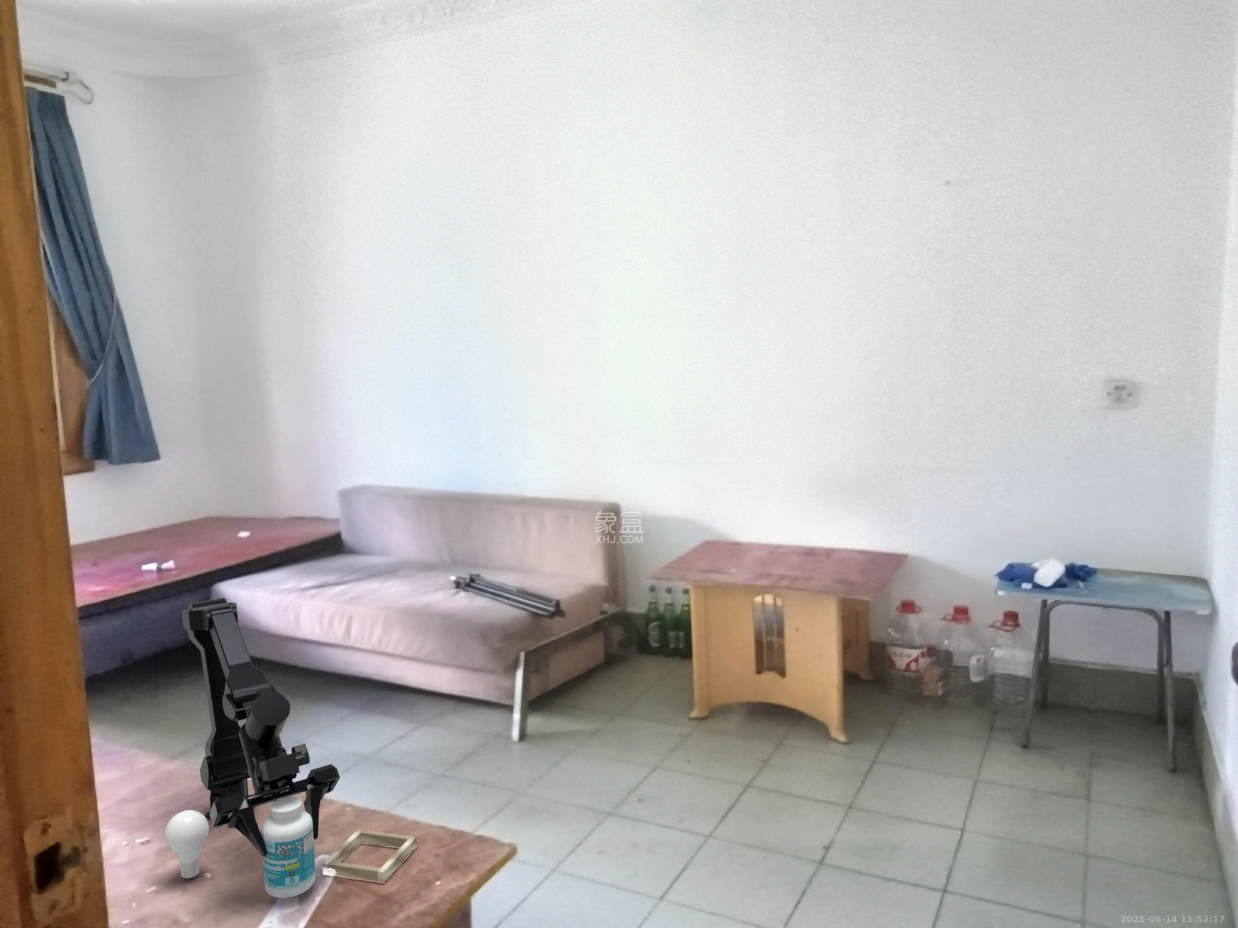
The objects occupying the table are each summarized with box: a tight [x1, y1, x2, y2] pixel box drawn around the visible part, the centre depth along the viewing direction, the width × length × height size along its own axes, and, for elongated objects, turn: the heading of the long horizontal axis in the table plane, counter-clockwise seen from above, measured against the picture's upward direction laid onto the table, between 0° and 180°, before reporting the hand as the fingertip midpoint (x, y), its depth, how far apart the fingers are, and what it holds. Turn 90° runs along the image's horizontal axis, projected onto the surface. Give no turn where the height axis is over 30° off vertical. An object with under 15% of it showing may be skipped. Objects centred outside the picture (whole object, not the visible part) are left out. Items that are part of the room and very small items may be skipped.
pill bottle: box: [261, 796, 316, 899], centre depth 142 cm, size 8×7×14 cm
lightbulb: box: [164, 809, 210, 879], centre depth 147 cm, size 6×6×11 cm
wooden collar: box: [321, 828, 418, 882], centre depth 152 cm, size 11×11×2 cm
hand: (291, 846), depth 141 cm, fingers closed on pill bottle, 7 cm apart
